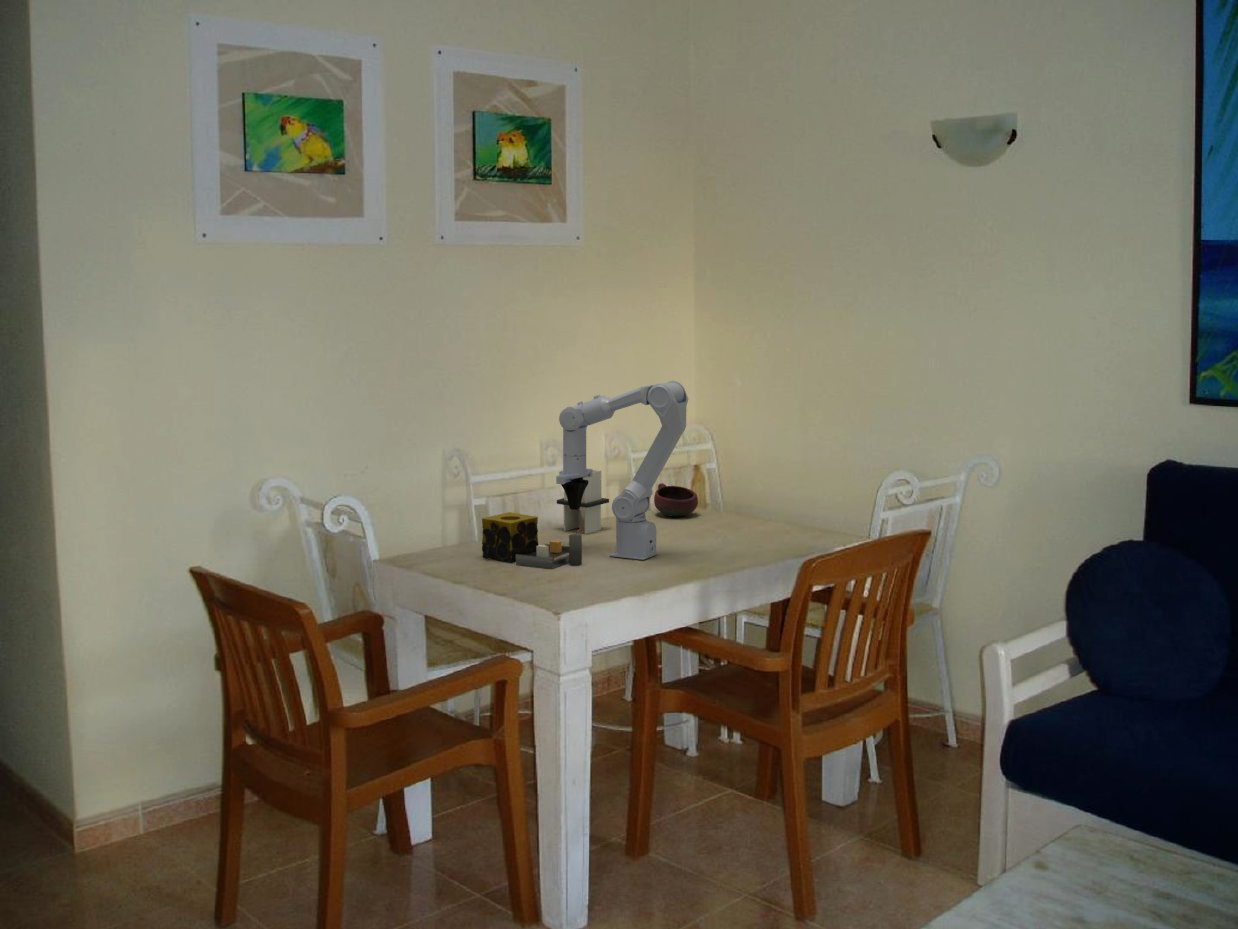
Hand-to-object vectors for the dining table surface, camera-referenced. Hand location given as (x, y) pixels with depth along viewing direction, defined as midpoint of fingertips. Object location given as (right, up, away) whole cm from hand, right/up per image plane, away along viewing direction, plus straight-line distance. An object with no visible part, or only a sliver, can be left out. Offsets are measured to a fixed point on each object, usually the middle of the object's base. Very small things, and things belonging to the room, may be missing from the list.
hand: (574, 509), depth 318 cm
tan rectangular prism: (-4, -10, -9) cm, 14 cm away
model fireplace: (+1, -7, +27) cm, 28 cm away
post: (+1, -13, -15) cm, 19 cm away
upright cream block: (-7, -11, -14) cm, 19 cm away
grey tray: (-6, -12, -11) cm, 17 cm away
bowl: (+26, -4, +49) cm, 56 cm away
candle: (-15, -12, -6) cm, 20 cm away
